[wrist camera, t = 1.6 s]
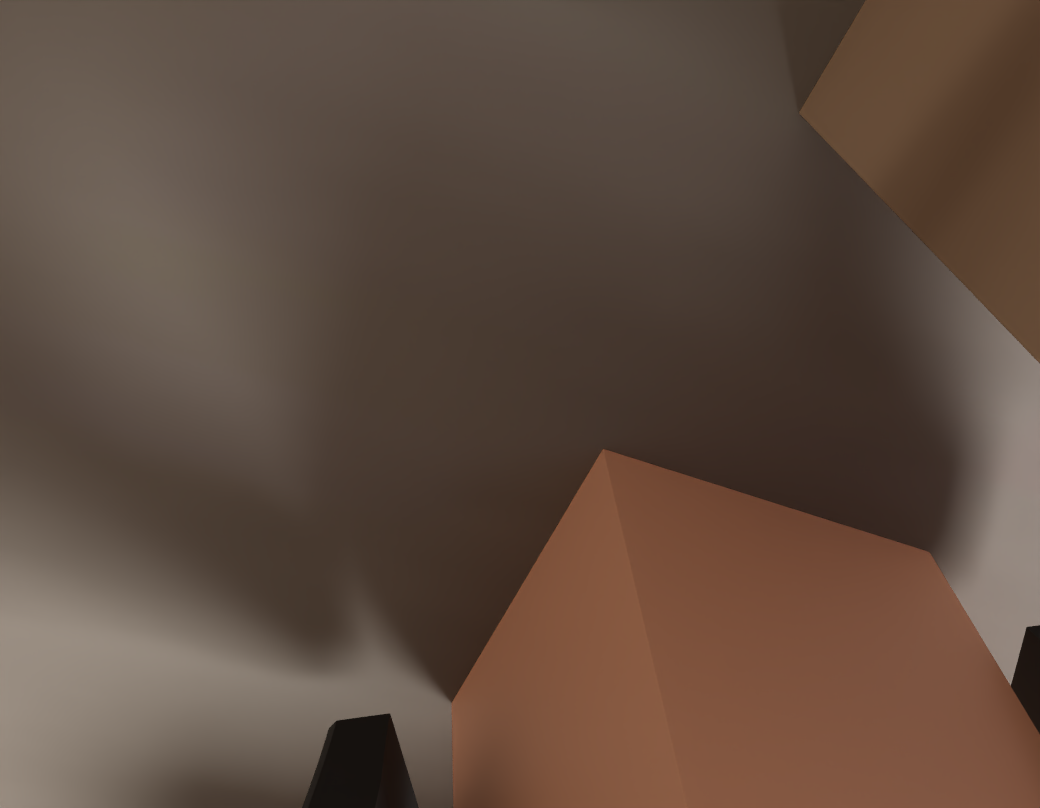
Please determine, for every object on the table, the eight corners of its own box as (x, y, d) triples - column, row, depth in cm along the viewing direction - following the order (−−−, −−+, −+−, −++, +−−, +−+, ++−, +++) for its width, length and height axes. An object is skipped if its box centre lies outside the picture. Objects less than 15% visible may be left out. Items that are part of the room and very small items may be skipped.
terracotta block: (927, 547, 12) (1146, 911, 8) (739, 761, 14) (846, 1124, 10) (601, 444, 11) (691, 819, 7) (451, 698, 13) (457, 1083, 9)
